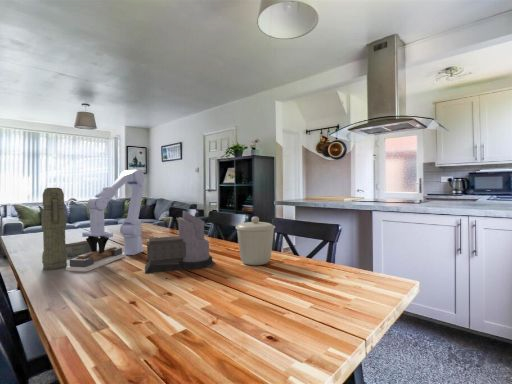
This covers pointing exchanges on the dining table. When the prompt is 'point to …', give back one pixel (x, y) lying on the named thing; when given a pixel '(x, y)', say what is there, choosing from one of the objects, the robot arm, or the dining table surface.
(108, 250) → the walnut slat
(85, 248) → the dark grey stone block
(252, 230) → the canister
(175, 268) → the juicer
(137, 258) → the dining table surface
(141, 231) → the robot arm
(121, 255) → the end cap cradle
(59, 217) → the olive stone pillar
